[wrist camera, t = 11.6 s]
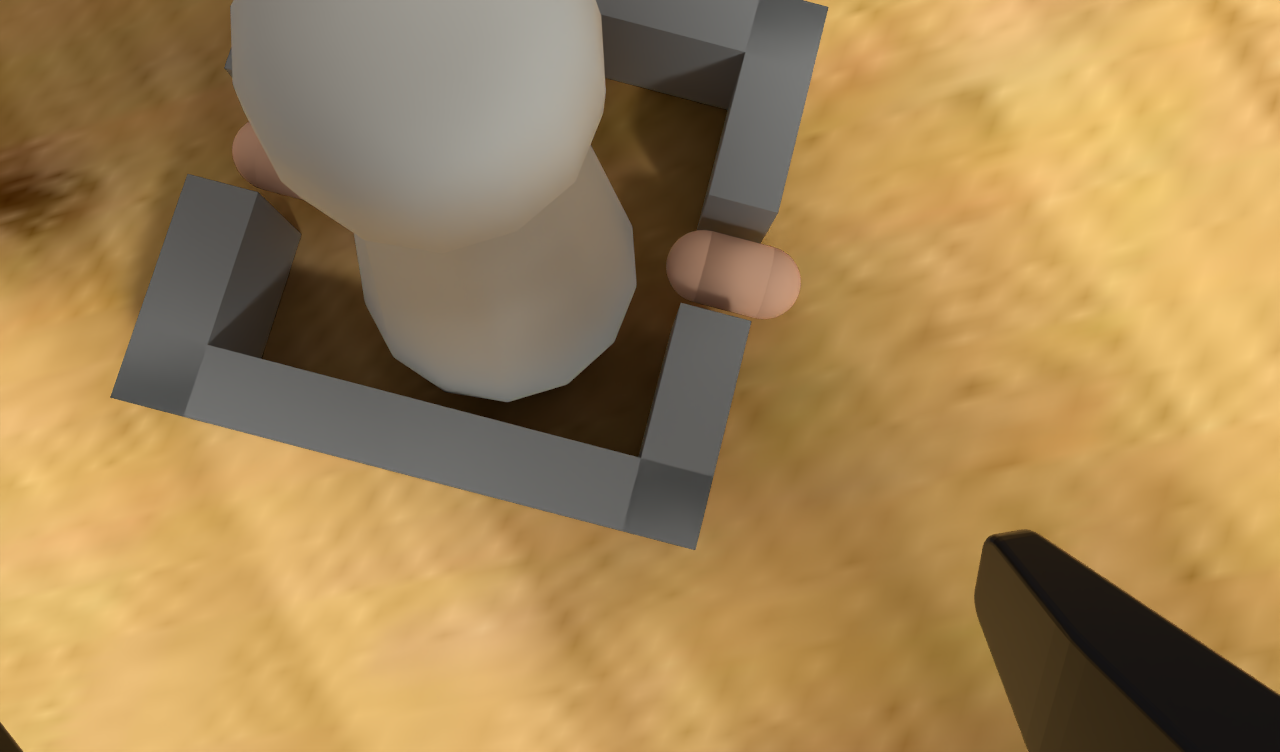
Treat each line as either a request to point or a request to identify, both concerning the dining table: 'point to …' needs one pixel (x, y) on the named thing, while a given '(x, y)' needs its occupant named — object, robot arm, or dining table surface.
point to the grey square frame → (463, 442)
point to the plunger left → (256, 163)
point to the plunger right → (733, 274)
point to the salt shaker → (452, 173)
